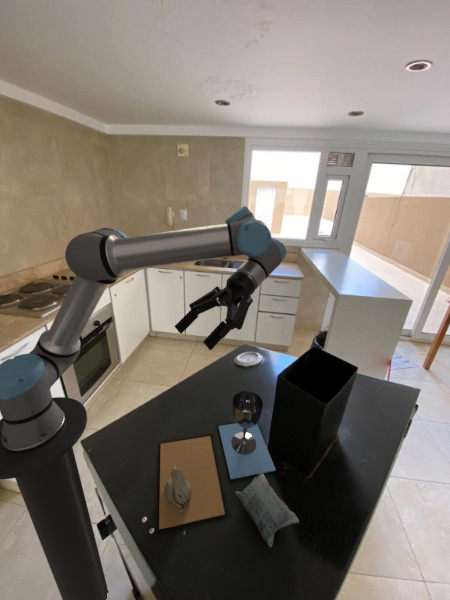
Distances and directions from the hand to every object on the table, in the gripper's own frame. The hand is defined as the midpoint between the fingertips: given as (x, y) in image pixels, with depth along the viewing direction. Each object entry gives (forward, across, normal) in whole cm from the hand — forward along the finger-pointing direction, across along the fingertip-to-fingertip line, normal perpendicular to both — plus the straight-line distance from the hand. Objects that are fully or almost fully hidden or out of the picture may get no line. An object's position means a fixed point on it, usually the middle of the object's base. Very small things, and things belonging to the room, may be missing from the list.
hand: (191, 337), depth 61 cm
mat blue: (+9, -6, -35) cm, 37 cm away
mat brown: (+23, -4, -26) cm, 35 cm away
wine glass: (+8, -5, -35) cm, 36 cm away
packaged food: (+16, -20, -33) cm, 42 cm away
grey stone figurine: (+27, -7, -24) cm, 37 cm away
